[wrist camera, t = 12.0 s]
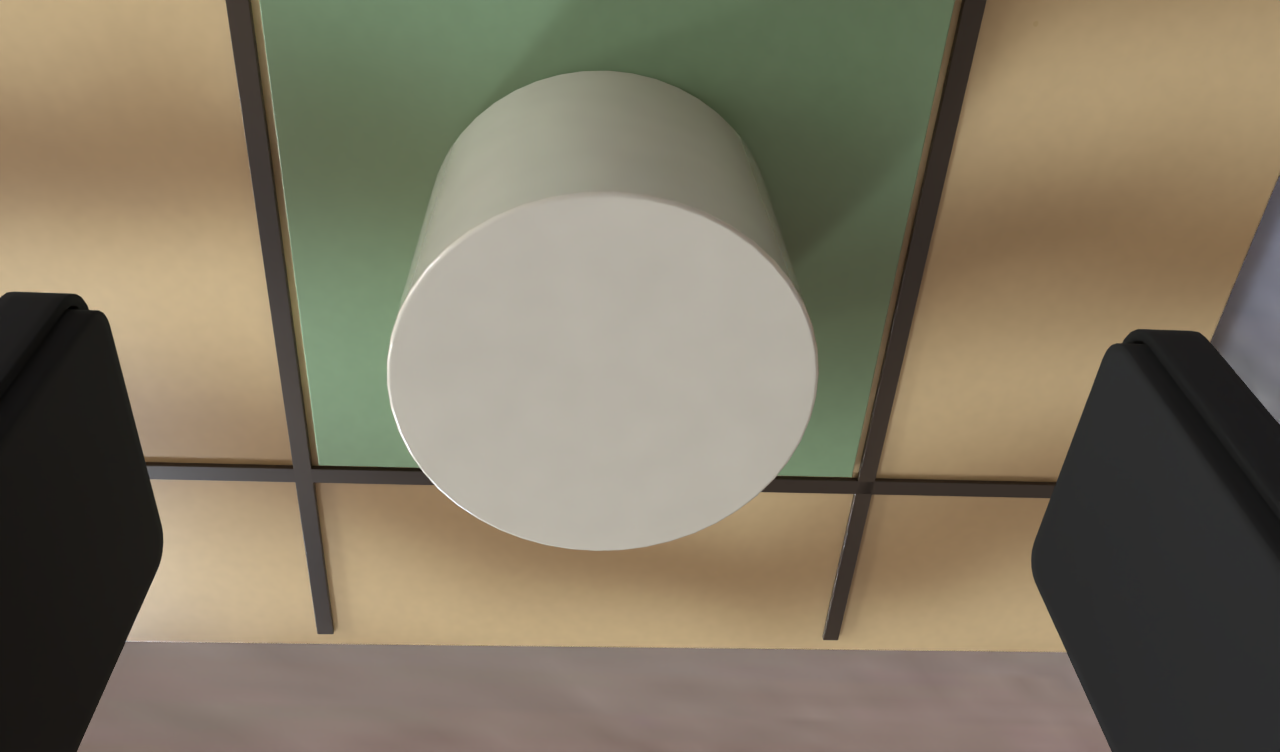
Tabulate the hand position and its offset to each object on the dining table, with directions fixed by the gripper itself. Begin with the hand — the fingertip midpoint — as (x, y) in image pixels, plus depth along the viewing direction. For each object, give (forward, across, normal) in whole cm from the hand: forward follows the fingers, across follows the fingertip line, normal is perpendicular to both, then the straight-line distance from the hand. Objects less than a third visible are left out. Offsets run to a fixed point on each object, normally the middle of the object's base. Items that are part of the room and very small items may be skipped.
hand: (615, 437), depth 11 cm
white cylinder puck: (+6, 0, +1) cm, 6 cm away
